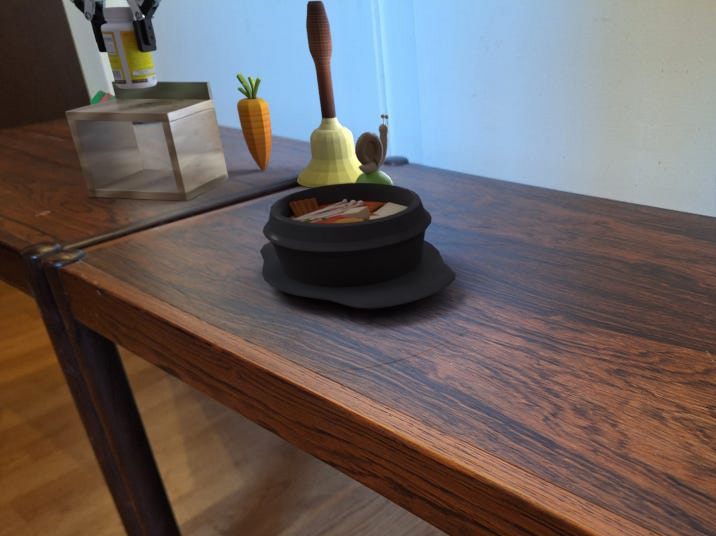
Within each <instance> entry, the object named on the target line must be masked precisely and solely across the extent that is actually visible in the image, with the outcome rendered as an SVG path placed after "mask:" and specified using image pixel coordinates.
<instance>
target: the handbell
mask: <svg viewBox="0 0 716 536" xmlns="http://www.w3.org/2000/svg"><path fill="white" fill-rule="evenodd" d="M306 4H307V5H306V18H305V19H306V20H305V28H306V29H305V30H306V38H307V45H308V51H309V54H310V55H311V59H312V60H313V63H314V64H313V65H314V68H315V74H316V75H315V76H316V81H317V82H316V84H317V90H318V99H319V105H320V106H319V107H320V115H321V121H320V124H319V126H318V127H316V128H314V130H312V132H311V134H310V136H309V144H310V145H309V146H310V153H311V158H310V160H309V163H308V164H307V166H306V167H305V168H304V169H303V170H302V171H301V172H300V173H299V174H298V176H297V178H296V179H297V180H296V183H298V185H301V186H302V187H306V188H314V187H320V186H326V185H333V184H344V183H355V181H356V179H357V178H358V177H359V175H360V174H362V173H363V172H362V171H361V170H360V169H359V166H360V165H362V164H361V163H360V162H359V161H358V159H357V157H356V154H355V141H354V135H353V133H352V131H351V130H350V129H348V128H347V127H346V126H342V124H341V123H340V122H339V120H338V118H337V113H336V104H335V95H334V88H333V78H332V70H331V69H332V67H331V63H332V61H331V59H332V54H333V42H332V41H333V40H332V32H331V26H330V21H329V18H328V14H327V11H326V7H325V5H324V2H323V1H322V0H308V2H307V3H306Z"/></svg>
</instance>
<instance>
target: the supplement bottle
mask: <svg viewBox="0 0 716 536" xmlns="http://www.w3.org/2000/svg"><path fill="white" fill-rule="evenodd" d="M102 10H103V14H104V18H105V21H107V23H106V24H103V25H102V26H101V31H102V35H103V39H104V43H105V46H106V50H107V52H106V54H107V58H108V62H109V65H110V68H111V73H112V76H113V79H114V80H113V81H115V84H116V86H117V87H119V88H121V89H140V88H147V87H152V86H155V85H156V84H157V81H158V78H157V75H156V70H155V66H154V61H153V57H152V53H151V52H140V51H139V48H138V44H137V40H136V35H135V31H134V27H133V20H136V18H135V16H134V14H133V12H132V10H131V8H130V6H111V7H105V8H103V9H102Z"/></svg>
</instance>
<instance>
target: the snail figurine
mask: <svg viewBox="0 0 716 536" xmlns="http://www.w3.org/2000/svg"><path fill="white" fill-rule="evenodd" d="M389 117H390V116H389V115H388V114H383V113H381V115H380V118H381V119H382V123H381V124H380V125H379V126H378V133H379V135H378V134H377V133H375V132H373V131H365V132H363V133H361V134H360V136H359V137H358V138H357V140H356V143H355V145H354V148H355V154H356V157H357V159H358V161H359V162H360V163H361V164H362V165H360V166H359V169H360V170H361V171H362V172H363V173H362V174H360V175H359V177H358V178H357V179H356V181H355V183H377V184H388V185H394V186H395V184H394V182H393V180H392V179H391V177H390V176H389V175H388V174H387V173H386V172H384V171H382V170H379V169H380V168H381V167H382V166H383V165H384V163H385V161H386V158H387V154H388V149H389V148H388V147H389V145H388V144H389V137H388V136H389V131H390V129H389V126H388V125H389V124H388V123H389V122H388V121H389V120H388V119H389ZM384 119H386V123H385V121H384Z"/></svg>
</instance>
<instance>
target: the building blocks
mask: <svg viewBox="0 0 716 536" xmlns="http://www.w3.org/2000/svg"><path fill="white" fill-rule="evenodd" d="M112 99H116V97H115V94H111V93H110V92H105V91H104V90H102V89H99V90H98V91H97V92H96V93H95V94H94V95H93V97H92V98H91V100H90V105H92V104H96V103H100V102H104V101H108V100H112ZM140 123H141V124H143V123H144V122H140Z"/></svg>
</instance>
